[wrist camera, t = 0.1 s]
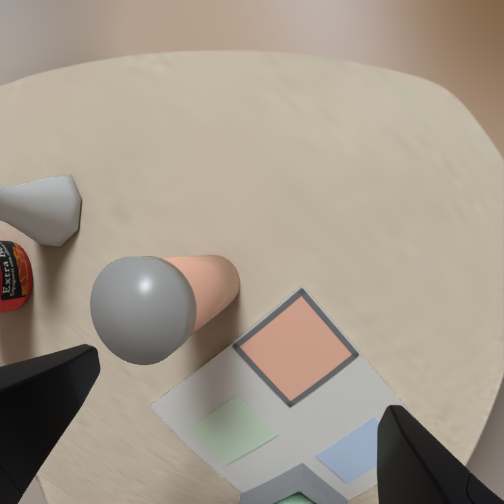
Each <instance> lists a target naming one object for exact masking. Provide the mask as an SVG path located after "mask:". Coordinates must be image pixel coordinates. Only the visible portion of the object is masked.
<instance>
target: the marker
mask: <svg viewBox="0 0 504 504" xmlns="http://www.w3.org/2000/svg"><path fill="white" fill-rule="evenodd" d="M239 288H240V278H239V274H238V272H237V270H236V268H235V267H234V265H233V264H232V263H231V262H230V261H229V260H227V259H226V258H224V257H221V256H217V255H204V256H186V257H167V258H158V257H152V256H142V257H125V258H121V259H118V260H115V261H113V262H111V263H110V264H109V265H107V266H106V267H105V268H104V269H103V270H102V271H101V272H100V274H99V275H98V277H97V279H96V280H95V283H94V285H93V289H92V292H91V300H90V308H91V316H92V320H93V324H94V327H95V329H96V331H97V333H98V335H99V337H100V339H101V340H102V342H103V343H104V344H105V345H106V347H107V348H108V349H109V350H110V351H111V352H112V353H114V354H115V355H116V356H118V357H119V358H121V359H123V360H125V361H127V362H130V363H133V364H138V365H150V364H154V363H158V362H160V361H162V360H164V359H165V358H167V357H168V356H169V355H171V354H172V353H173V352H174V351H176V350H177V349H178V348H179V347H181V346H182V345H183V344H184V343H185V342H186V341H187V339H188V338H189V337H190V336H191V335H192V334H193V333H194V332H196V331H197V330H198V329H200V328H201V327H202V326H203V325H205V324H206V323H207V322H208V321H210V320H211V319H212V318H213V317H215V316H216V315H217V314H218V313H220V312H221V311H222V310H223V309H225V308H226V307H227V306H228V305H229V304H231V303H232V302H233V301H234V299H235V298H236V296H237V294H238V292H239Z"/></svg>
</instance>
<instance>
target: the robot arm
mask: <svg viewBox="0 0 504 504" xmlns="http://www.w3.org/2000/svg"><path fill="white" fill-rule="evenodd" d="M99 373H100V363H99V357H98V351H97V349H96V348H95V347H93V346H90V345H88V344H83V345H80V346H76V347H72V348H69V349H65V350H62V351H58V352H55V353H51V354H47V355H44V356H40V357H36V358H32V359H29V360H25V361H21V362H17V363H13V364H9V365H6V366H2V367H0V504H18V502H19V501H20V499H21V497H22V496H23V494H24V492H25V491H26V489H27V488H28V486H29V484H30V483H31V481H32V480H33V478H34V477H35V475H36V474H37V472H38V470H39V469H40V467H41V466H42V464H43V463H44V461H45V460H46V458H47V457H48V455H49V454H50V452H51V451H52V449H53V448H54V446H55V445H56V443H57V442H58V440H59V439H60V437H61V436H62V434H63V433H64V431H65V430H66V428H67V427H68V426H69V424H70V423H71V421H72V420H73V418H74V417H75V415H76V414H77V413H78V411H79V409H80V408H81V406H82V405H83V403H84V401H85V399H86V397H87V395H88V394H89V392H90V390H91V388H92V386H93V385H94V383H95V381H96V379H97V377H98V376H99ZM377 484H378V497H379V504H504V501H503V500H502V499H501V498H499V497H498V496H497V495H496V494H494V493H493V492H492V491H491V490H490V489H488V488H487V487H486V486H485V485H484V484H483V483H482V482H481V481H480V480H478V479H477V478H476V477H475V476H474V475H473V474H472V473H470V471H469V470H468V469H467V468H466V467H465V466H464V465H463V464H462V463H461V462H460V461H459V460H458V459H457V458H455V457H454V456H453V455H452V454H451V453H450V452H449V451H448V450H447V449H446V448H445V447H444V446H443V445H442V444H441V443H440V442H439V441H438V440H437V439H436V438H435V437H434V436H433V435H432V434H431V433H430V432H429V431H428V430H427V429H426V428H425V427H424V426H422V425H421V424H420V423H419V422H418V421H417V420H416V419H415V418H414V417H413V416H412V415H411V414H410V413H409V412H408V411H407V410H406V409H405V408H404V407H403V406H401V405H389V406H387V408H386V410H385V412H384V414H383V416H382V418H381V420H380V422H379V424H378V428H377Z"/></svg>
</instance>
